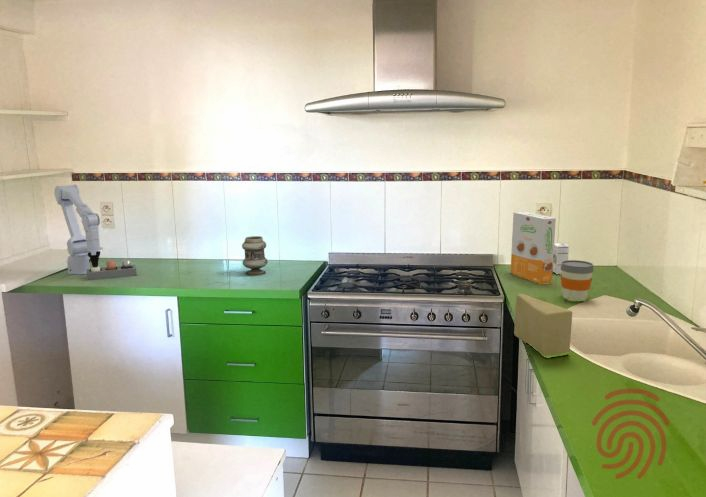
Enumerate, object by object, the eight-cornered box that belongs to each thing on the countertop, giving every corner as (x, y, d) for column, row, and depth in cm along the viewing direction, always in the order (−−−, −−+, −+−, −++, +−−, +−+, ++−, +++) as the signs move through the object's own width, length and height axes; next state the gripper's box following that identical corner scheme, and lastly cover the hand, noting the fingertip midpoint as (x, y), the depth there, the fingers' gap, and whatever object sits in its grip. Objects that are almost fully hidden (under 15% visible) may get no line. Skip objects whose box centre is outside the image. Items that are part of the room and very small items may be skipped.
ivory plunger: (90, 276, 277) (89, 267, 276) (94, 273, 281) (93, 265, 280) (98, 276, 276) (97, 268, 276) (102, 274, 280) (101, 266, 280)
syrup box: (567, 275, 277) (569, 245, 274) (555, 275, 277) (557, 245, 274) (563, 272, 283) (565, 243, 280) (551, 272, 283) (553, 243, 280)
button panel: (136, 275, 282) (135, 268, 281) (87, 280, 273) (86, 273, 273) (135, 271, 290) (135, 264, 289) (87, 275, 281) (86, 269, 281)
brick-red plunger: (105, 270, 279) (104, 262, 278) (109, 268, 283) (108, 260, 282) (113, 270, 279) (112, 262, 278) (117, 268, 283) (116, 260, 282)
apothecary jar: (240, 272, 287) (238, 236, 284) (263, 269, 292) (262, 234, 289) (246, 277, 277) (245, 240, 273) (271, 274, 282) (269, 238, 278)
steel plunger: (121, 269, 282) (120, 261, 281) (124, 267, 286) (124, 259, 285) (129, 269, 282) (128, 261, 281) (132, 267, 285) (132, 259, 285)
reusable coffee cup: (571, 304, 231) (573, 267, 228) (552, 296, 243) (554, 261, 240) (597, 301, 234) (600, 265, 231) (578, 293, 246) (580, 259, 243)
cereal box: (551, 283, 262) (555, 218, 256) (540, 284, 260) (544, 219, 254) (521, 272, 283) (524, 211, 277) (510, 273, 281) (513, 212, 275)
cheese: (503, 336, 196) (505, 293, 193) (527, 333, 199) (529, 291, 196) (544, 360, 176) (547, 313, 173) (570, 356, 179) (574, 309, 176)
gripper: (101, 241, 270) (104, 269, 273) (101, 236, 283) (104, 263, 286) (85, 242, 267) (88, 270, 270) (86, 237, 280) (88, 264, 283)
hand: (95, 267), depth 278 cm, fingers closed, pressing on ivory plunger
